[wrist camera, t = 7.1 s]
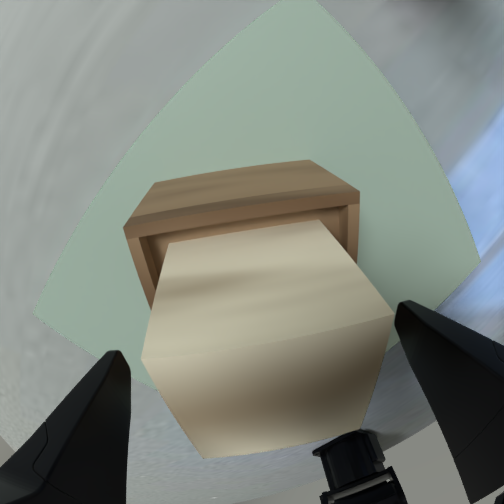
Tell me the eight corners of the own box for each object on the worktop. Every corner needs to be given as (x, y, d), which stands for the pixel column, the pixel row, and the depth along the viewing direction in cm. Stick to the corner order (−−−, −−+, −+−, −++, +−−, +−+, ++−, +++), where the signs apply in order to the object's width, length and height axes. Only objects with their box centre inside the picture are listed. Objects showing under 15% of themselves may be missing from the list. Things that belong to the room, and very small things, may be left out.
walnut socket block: (313, 287, 17) (346, 354, 12) (187, 308, 16) (182, 382, 12) (309, 159, 13) (359, 191, 9) (154, 182, 13) (122, 227, 8)
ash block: (318, 330, 12) (360, 428, 8) (201, 350, 12) (202, 458, 7) (319, 219, 10) (394, 313, 5) (168, 243, 9) (140, 359, 5)
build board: (262, 425, 25) (264, 432, 24) (37, 306, 16) (32, 313, 15) (474, 256, 19) (480, 261, 18) (295, -8, 10) (300, -14, 9)
